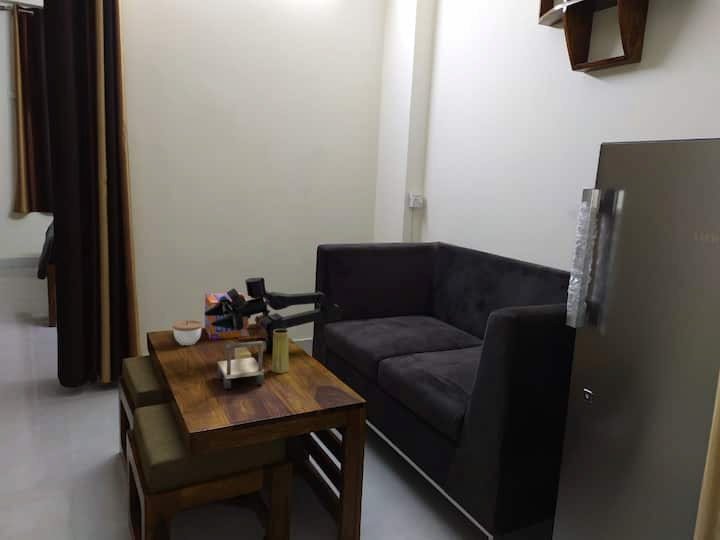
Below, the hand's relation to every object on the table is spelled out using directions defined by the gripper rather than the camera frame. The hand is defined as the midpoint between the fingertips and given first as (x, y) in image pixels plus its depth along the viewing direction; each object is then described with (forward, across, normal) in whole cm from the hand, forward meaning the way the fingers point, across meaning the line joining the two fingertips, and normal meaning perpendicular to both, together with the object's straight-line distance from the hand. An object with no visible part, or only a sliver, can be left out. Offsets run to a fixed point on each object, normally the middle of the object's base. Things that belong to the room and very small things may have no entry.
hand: (208, 319), depth 190 cm
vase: (-17, +21, +16) cm, 32 cm away
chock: (-8, +9, +16) cm, 20 cm away
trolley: (-2, +25, +12) cm, 28 cm away
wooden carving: (-25, -15, +23) cm, 37 cm away
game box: (-12, -28, +23) cm, 37 cm away
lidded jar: (+6, -20, +18) cm, 28 cm away
